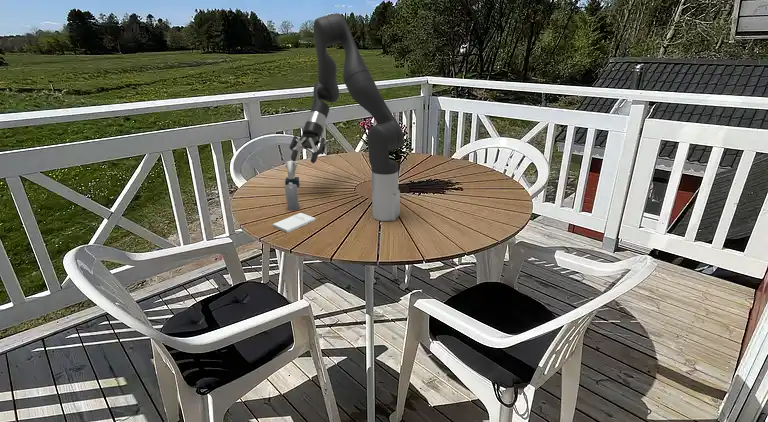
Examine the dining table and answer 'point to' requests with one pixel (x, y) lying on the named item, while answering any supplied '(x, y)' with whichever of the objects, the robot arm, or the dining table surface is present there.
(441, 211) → the dining table surface
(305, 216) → the external hard drive
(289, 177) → the watch
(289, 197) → the grey upright cylinder
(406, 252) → the dining table surface
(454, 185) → the dining table surface
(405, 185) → the dining table surface
